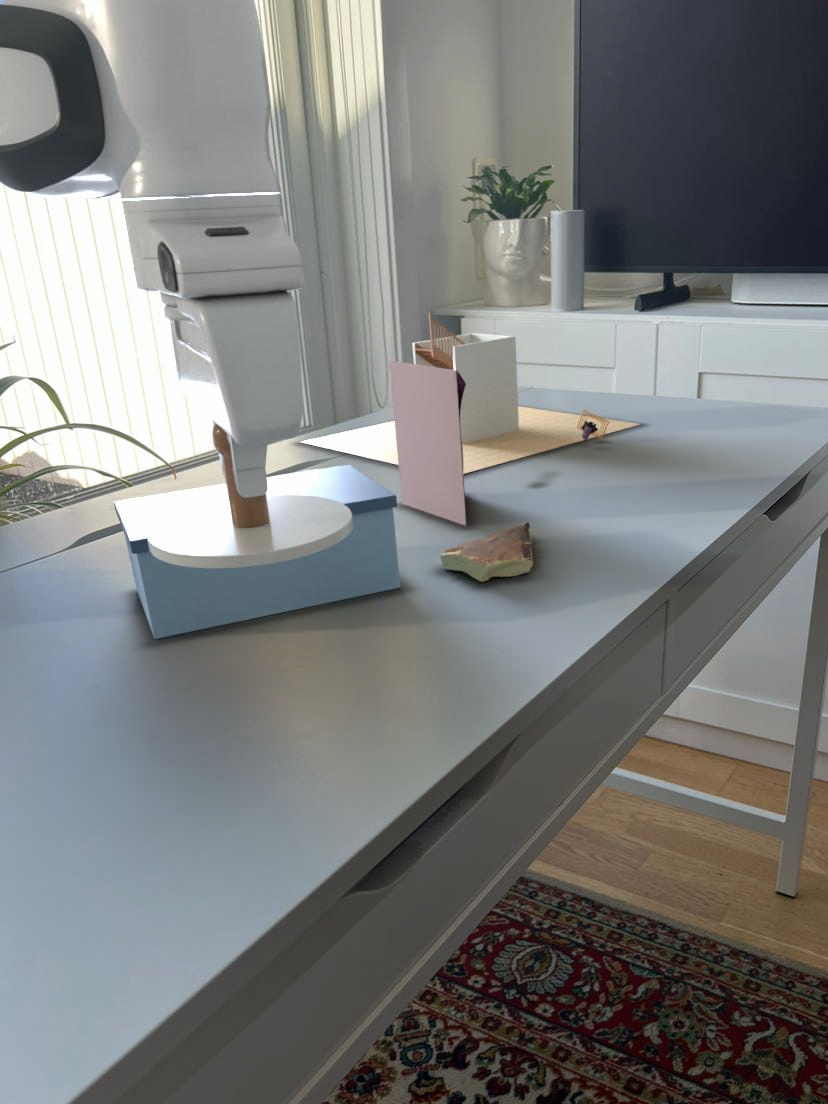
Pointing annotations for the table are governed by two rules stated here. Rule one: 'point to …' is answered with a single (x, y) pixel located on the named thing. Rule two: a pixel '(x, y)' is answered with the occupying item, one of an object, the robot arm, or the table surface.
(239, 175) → the robot arm
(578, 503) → the table surface
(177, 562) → the peg on round base
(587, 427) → the framed picture
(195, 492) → the storage container
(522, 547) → the shard
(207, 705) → the table surface
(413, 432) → the greeting card
